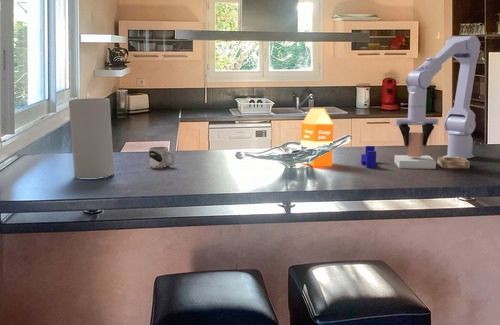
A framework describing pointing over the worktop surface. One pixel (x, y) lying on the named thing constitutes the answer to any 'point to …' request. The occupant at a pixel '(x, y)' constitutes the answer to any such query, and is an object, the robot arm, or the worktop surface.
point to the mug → (160, 157)
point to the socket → (453, 162)
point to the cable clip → (369, 157)
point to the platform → (415, 162)
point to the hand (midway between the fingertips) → (415, 145)
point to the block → (415, 144)
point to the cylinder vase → (91, 137)
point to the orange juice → (318, 134)
